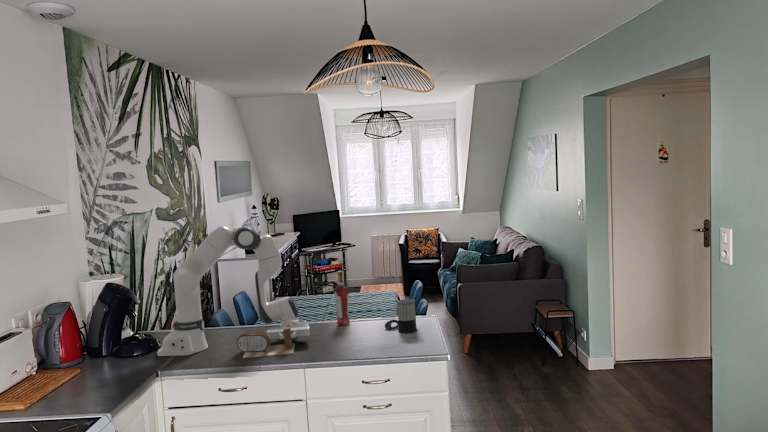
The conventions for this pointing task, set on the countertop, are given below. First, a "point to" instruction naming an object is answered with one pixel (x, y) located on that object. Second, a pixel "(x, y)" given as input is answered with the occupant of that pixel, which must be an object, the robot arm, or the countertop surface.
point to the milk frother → (404, 317)
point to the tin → (253, 342)
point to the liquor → (341, 301)
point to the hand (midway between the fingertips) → (287, 337)
